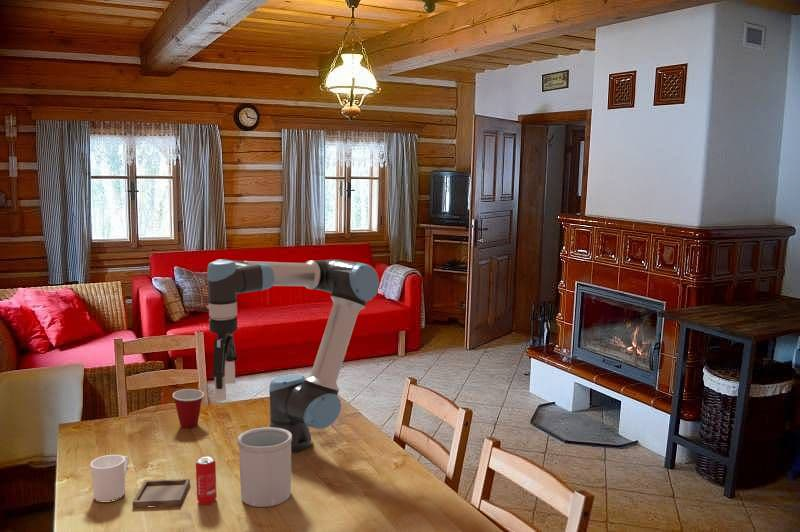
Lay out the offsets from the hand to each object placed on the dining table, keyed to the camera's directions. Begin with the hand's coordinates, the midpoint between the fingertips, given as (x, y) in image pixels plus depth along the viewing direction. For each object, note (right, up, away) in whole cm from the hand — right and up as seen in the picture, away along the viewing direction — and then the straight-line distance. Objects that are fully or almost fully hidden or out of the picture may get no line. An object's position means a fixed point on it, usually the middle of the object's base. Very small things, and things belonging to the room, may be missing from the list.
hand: (225, 391), depth 191 cm
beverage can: (-5, -30, -2) cm, 31 cm away
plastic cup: (-26, -22, +51) cm, 61 cm away
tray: (-18, -30, 0) cm, 34 cm away
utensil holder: (+11, -30, +1) cm, 32 cm away
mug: (-32, -30, +1) cm, 44 cm away
